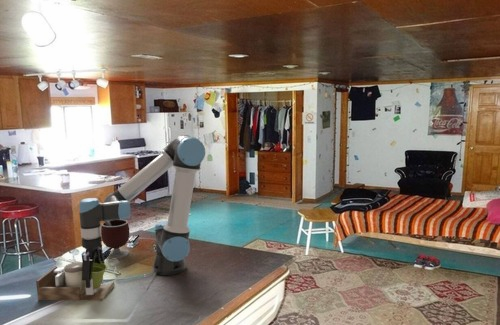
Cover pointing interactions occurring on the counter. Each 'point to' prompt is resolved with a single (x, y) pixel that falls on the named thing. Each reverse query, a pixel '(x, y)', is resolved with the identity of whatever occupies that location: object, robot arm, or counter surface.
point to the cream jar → (74, 276)
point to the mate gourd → (115, 237)
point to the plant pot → (97, 274)
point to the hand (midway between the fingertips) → (95, 288)
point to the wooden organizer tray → (67, 290)
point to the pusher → (60, 277)
